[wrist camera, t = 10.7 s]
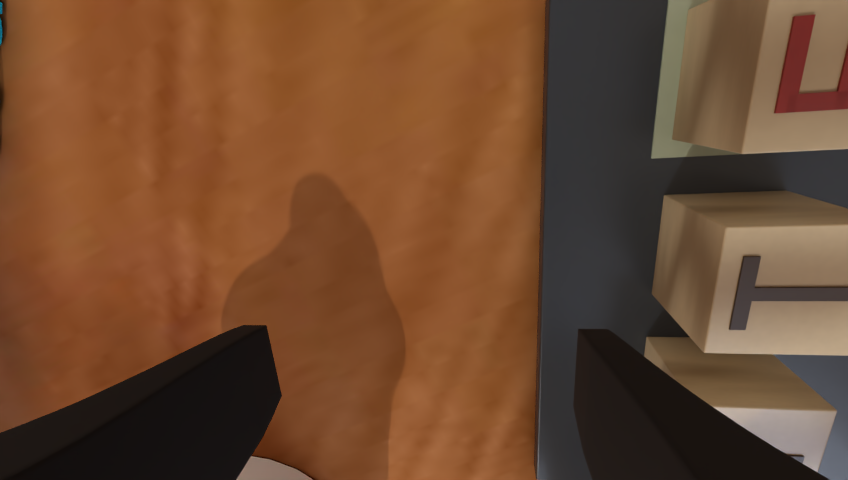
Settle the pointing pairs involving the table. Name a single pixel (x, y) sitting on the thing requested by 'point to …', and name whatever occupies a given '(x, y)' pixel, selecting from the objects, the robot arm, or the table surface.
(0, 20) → the text ornament
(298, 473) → the honey pot
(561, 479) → the letter board
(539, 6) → the table surface
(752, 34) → the block
